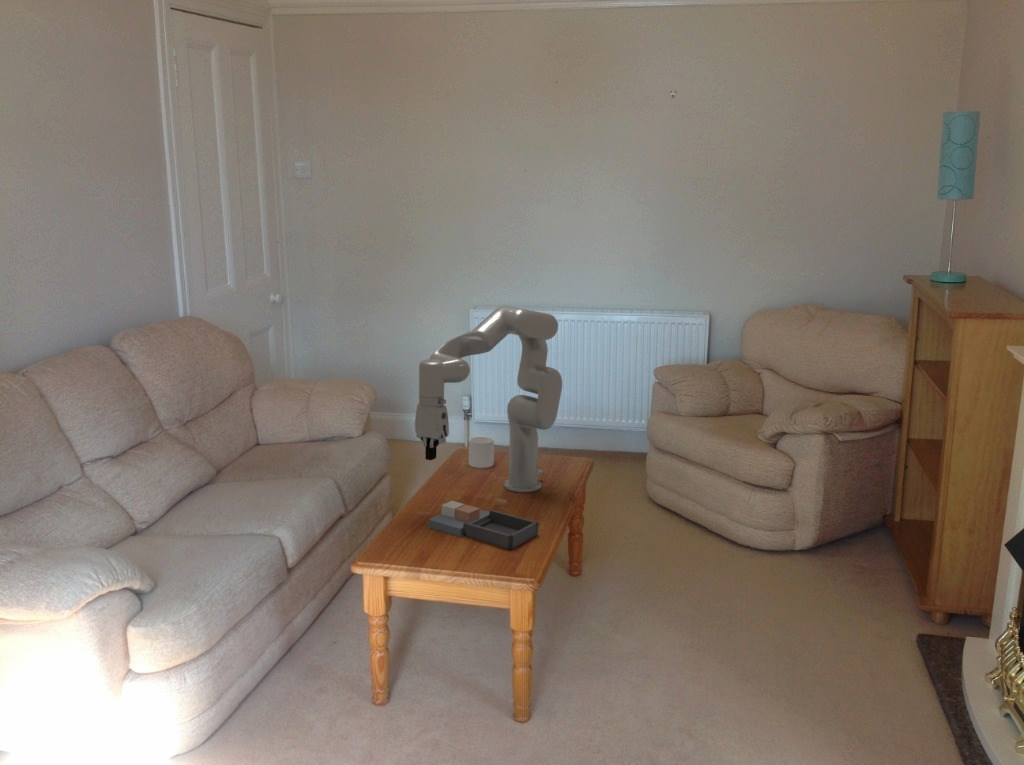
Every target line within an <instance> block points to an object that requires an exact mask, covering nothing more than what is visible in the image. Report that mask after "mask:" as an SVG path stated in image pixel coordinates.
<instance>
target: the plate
mask: <svg viewBox="0 0 1024 765" xmlns="http://www.w3.org/2000/svg"><path fill="white" fill-rule="evenodd" d="M488 519H489V511H487V510H482V509H479V518H478V519H476V520H474V521H472V522H467V523H470V524H474V525H477V524H479V523H481V522H484V521H486V520H488ZM465 522H466V521H462V520H459V519H456V518H452V517H448V516H445V515H441V513H440V514H437V515H436V516H433V517H430V518H429V519H428V528H429V529H433V530H436V531H441V532H443V533H447V534H450V535H453V536H456V537H464V536H463V523H465Z"/></svg>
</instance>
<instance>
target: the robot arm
mask: <svg viewBox="0 0 1024 765" xmlns="http://www.w3.org/2000/svg"><path fill="white" fill-rule="evenodd" d="M558 330H559V323H558V320H557V318H556V317H555V315H553V314H551V313H547V312H542V311H541V312H540V311H536V310H530V309H525V308H520V307H515V306H510V305H501V306H498V307H497V308H496V309H495V310H493V311H492V312H491V313H490V314H489V315H488V316H487V317H485V319H483V320H482V321H480V323H479V324H478V325H476V326H475V327H474V328H473V329H472V330H470V331H468V332H465V333H463V334H459V336H456V337H454V338H451V339H450V340H448V341H446V342H444V343H443V344H442V345H440V346H439V347H438V348H437V349H436V350H435V351H434V352H433V353H432V354H431V355H430V357H429V359H423V360H421V361H420V363H419V365H418V367H419V368H418V403H417V405H416V411H415V418H414V420H415V421H414V432H415V434H416V438H418V439H419V440H421V441H422V443H423V447H425V460H427V461H433V460H436V459H437V447H438V446H439V445H440V444H445V443H446V442H447V440H446V438H447V437H449V434H450V432H449V431H450V430H449V429H450V426H449V424H450V423H449V414H448V409H447V408H448V407H447V406H446V404H447V400H446V399H445V384H448V383H452V384H455V383H456V384H457V383H458V384H459V383H462V382H463V381H466V380H467V378H468V377H469V375H470V373H471V370H470V369H471V368H470V365H469V363H468V362H467V361H466V360H465V359H463V358H465V357H468V356H474V355H475V356H476V355H480V354H481V355H482V354H486V353H489V352H491V351H492V350H493V349H494V348H495V347H496V346H497V345H498V344H500V342H501V341H503V340H504V339H505V338H506V337H507V336H508V335H515V336H518V337H519V340H520V342H521V348H522V349H521V356H520V362H519V367H518V371H517V372H518V373H517V380H516V383H517V386H518V387H519V389H520V390H523V391H524V392H527V393H531V394H536V395H537V397H534V396H531V395H530V396H529V395H526V394H517V395H514V396H513V397H512V398H510V400H509V402H508V403H507V408H506V410H507V412H506V413H507V419H508V425H509V427H508V428H509V448H508V449H509V450H508V451H509V453H508V454H509V455H508V479H506V480H504V483H503V487H504V488H505V490H508V491H510V492H515V493H533V492H536V491H540V490H541V488H542V483H541V481H540V480H538V478H539V477H540V476H543V474H544V471H543V469H538V450H539V449H538V448H539V434H538V430H545V431H546V430H548V429H551V428H552V426H553V425H555V422H556V419H557V416H558V412H559V407H560V406H559V405H560V400H561V395H562V390H563V379H562V375H561V373H560V372H559V370H557V369H556V368H553V367H550V366H547V361H548V360H547V359H548V352H549V351H548V350H549V349H548V342H547V341H548V340H550V339H552V338H554V337H555V336H556V334H557V333H558Z"/></svg>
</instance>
